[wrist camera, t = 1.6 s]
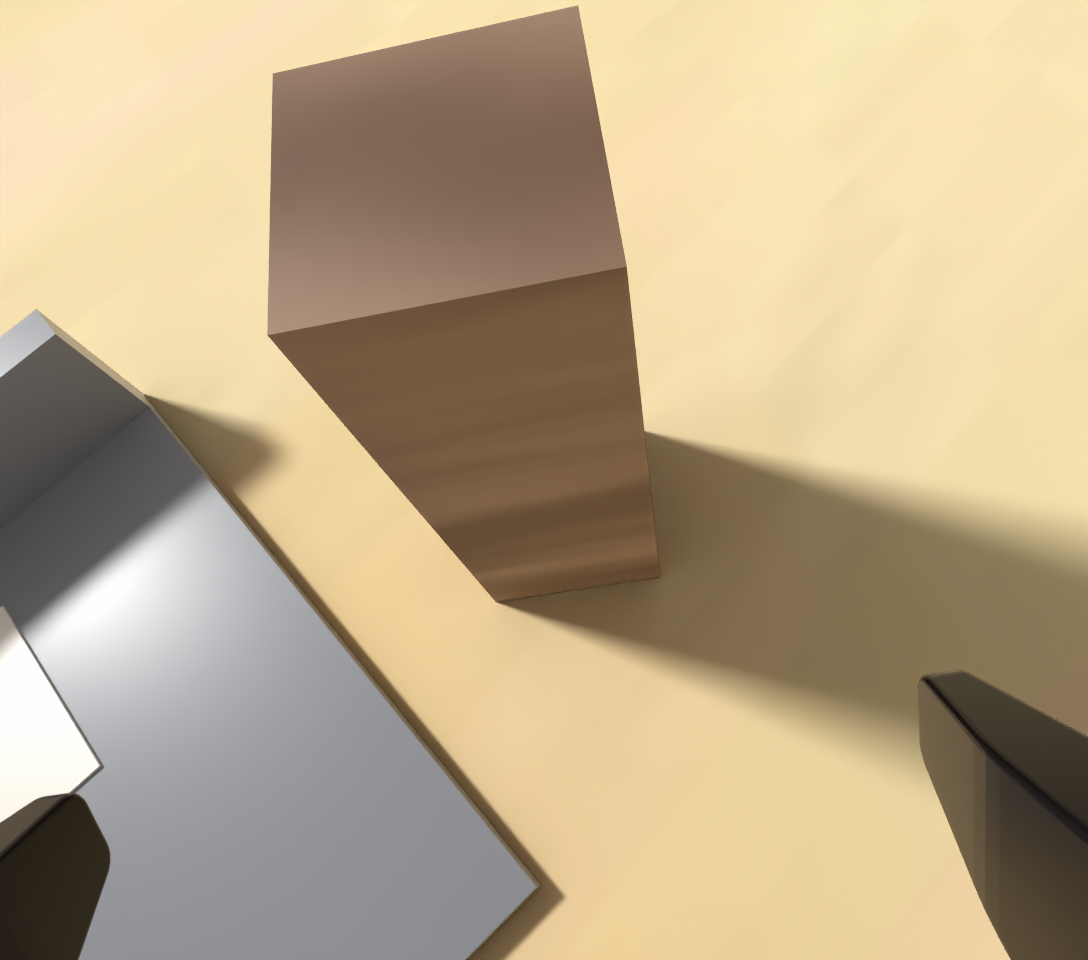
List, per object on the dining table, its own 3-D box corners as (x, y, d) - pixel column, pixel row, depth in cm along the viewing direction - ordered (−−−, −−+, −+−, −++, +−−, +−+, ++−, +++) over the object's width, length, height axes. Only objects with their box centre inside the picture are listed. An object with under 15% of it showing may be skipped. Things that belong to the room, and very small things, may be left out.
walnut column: (660, 577, 23) (627, 265, 10) (496, 602, 23) (267, 335, 11) (634, 428, 25) (578, 5, 12) (482, 453, 25) (272, 73, 12)
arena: (540, 885, 21) (498, 903, 16) (-26, 1461, 18) (-268, 1677, 13) (142, 392, 28) (35, 308, 24) (-297, 751, 26) (-510, 735, 21)
